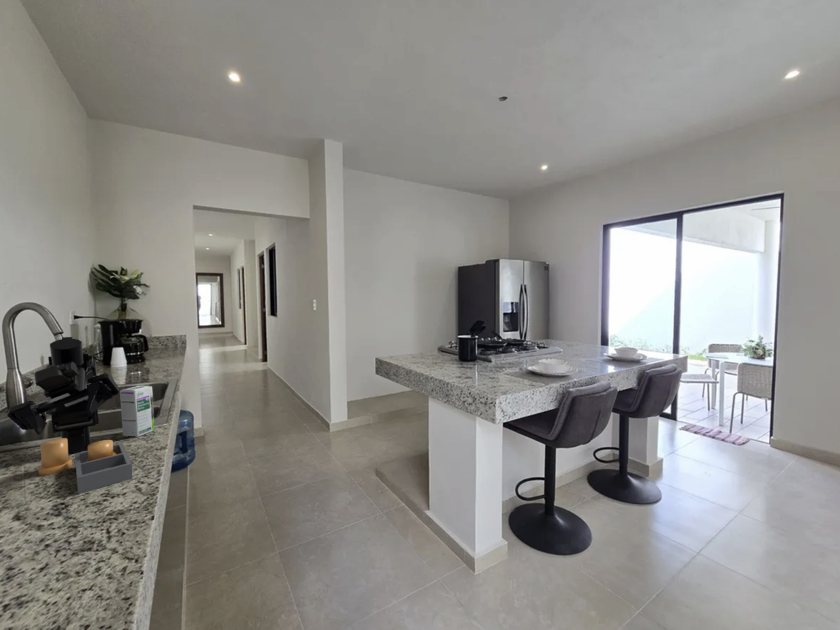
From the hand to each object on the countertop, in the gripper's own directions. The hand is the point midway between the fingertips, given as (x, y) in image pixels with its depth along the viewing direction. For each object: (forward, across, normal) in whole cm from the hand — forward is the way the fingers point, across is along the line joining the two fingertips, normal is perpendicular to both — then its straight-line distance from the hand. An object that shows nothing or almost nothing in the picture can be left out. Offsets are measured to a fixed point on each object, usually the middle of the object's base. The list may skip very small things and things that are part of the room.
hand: (64, 422), depth 80 cm
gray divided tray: (+5, +1, +14) cm, 15 cm away
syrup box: (-19, +4, +28) cm, 34 cm away
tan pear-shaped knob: (-4, -9, +15) cm, 18 cm away
